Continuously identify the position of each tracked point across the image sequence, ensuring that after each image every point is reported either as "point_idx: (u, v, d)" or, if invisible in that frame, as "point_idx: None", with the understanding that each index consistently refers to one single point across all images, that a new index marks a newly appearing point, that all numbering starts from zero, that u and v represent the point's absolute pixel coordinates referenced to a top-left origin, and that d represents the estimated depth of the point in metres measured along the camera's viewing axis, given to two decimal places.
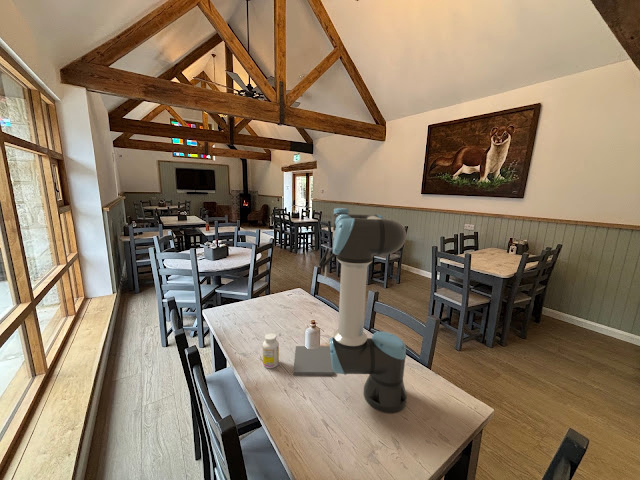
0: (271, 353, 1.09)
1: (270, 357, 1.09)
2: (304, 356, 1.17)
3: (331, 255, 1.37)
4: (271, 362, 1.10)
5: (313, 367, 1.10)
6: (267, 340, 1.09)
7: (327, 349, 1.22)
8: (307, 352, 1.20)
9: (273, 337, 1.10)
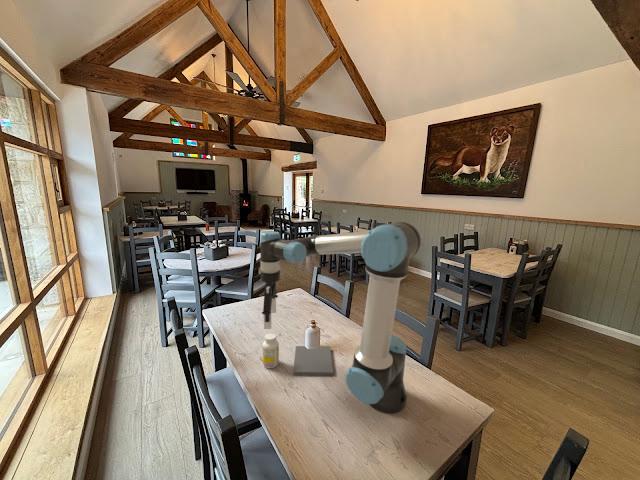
0: (271, 353, 1.09)
1: (270, 357, 1.09)
2: (304, 356, 1.17)
3: None
4: (271, 362, 1.10)
5: (313, 367, 1.10)
6: (267, 340, 1.09)
7: (327, 349, 1.22)
8: (307, 352, 1.20)
9: (273, 337, 1.10)
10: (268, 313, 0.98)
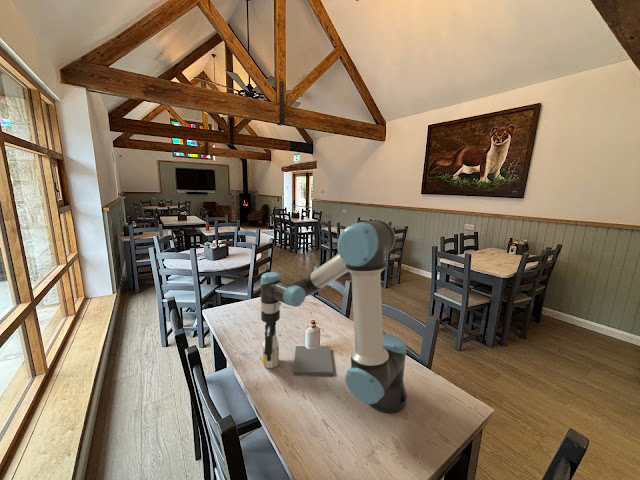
0: None
1: None
2: (304, 356, 1.17)
3: None
4: None
5: (313, 367, 1.10)
6: None
7: (327, 349, 1.22)
8: (307, 352, 1.20)
9: (273, 337, 1.10)
10: (270, 354, 1.05)
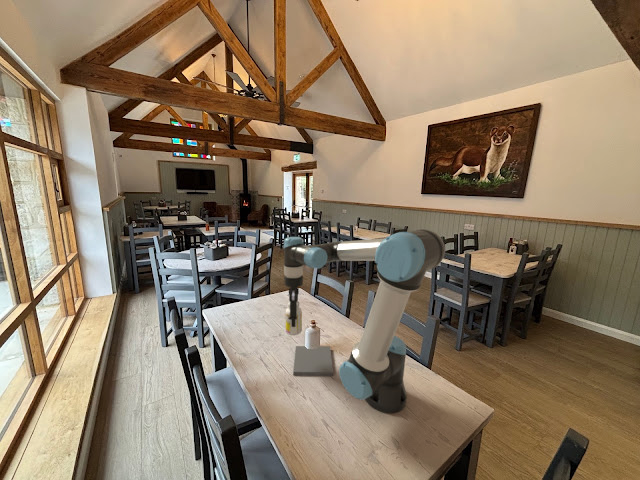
0: None
1: None
2: (304, 356, 1.17)
3: None
4: None
5: (313, 367, 1.10)
6: None
7: (327, 349, 1.22)
8: (307, 352, 1.20)
9: None
10: (295, 318, 1.03)
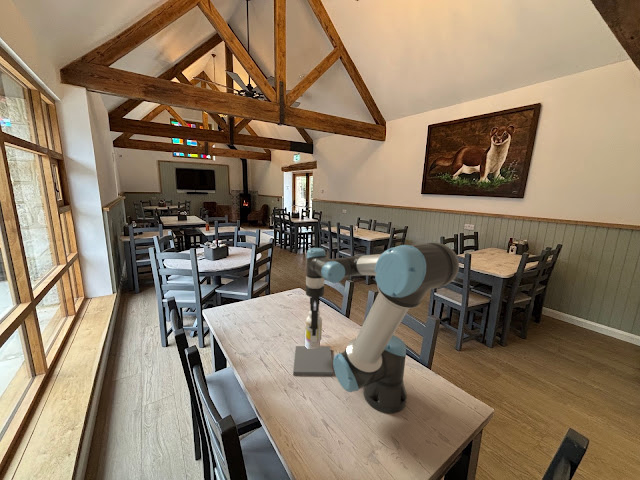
0: None
1: None
2: (304, 356, 1.17)
3: None
4: None
5: (313, 367, 1.10)
6: None
7: (327, 349, 1.22)
8: (307, 352, 1.20)
9: None
10: (316, 328, 1.06)
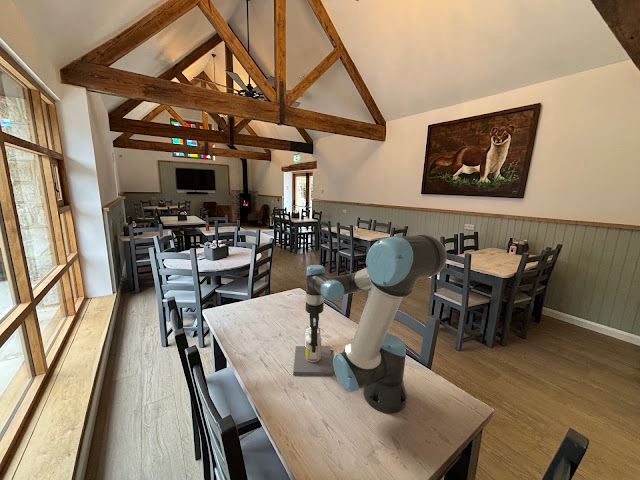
0: None
1: None
2: (304, 356, 1.17)
3: None
4: None
5: (313, 367, 1.10)
6: None
7: (327, 349, 1.22)
8: None
9: (317, 332, 1.12)
10: (316, 345, 1.05)
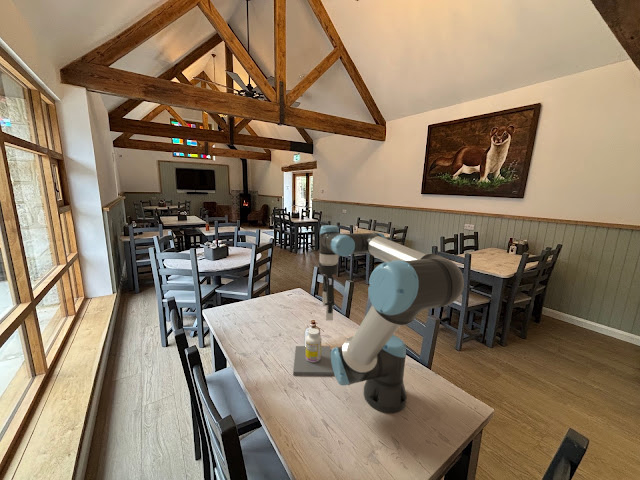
0: (315, 347, 1.11)
1: (314, 352, 1.11)
2: (304, 356, 1.17)
3: None
4: (315, 356, 1.12)
5: (313, 367, 1.10)
6: (311, 335, 1.11)
7: (327, 349, 1.22)
8: None
9: (317, 332, 1.12)
10: (333, 304, 1.01)
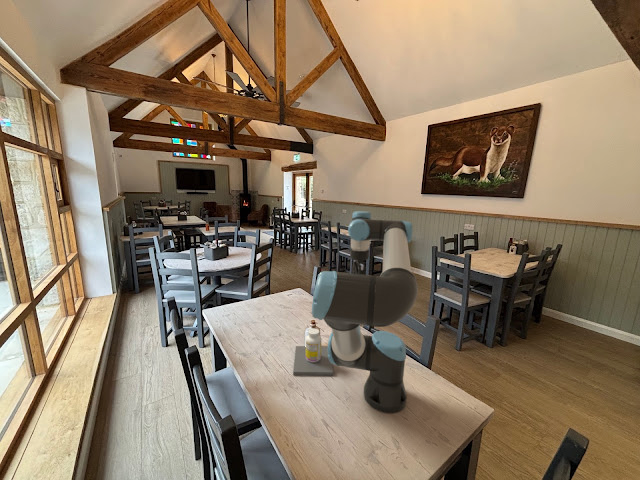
0: (315, 347, 1.11)
1: (314, 352, 1.11)
2: (304, 356, 1.17)
3: None
4: (315, 356, 1.12)
5: (313, 367, 1.10)
6: (311, 335, 1.11)
7: (327, 349, 1.22)
8: None
9: (317, 332, 1.12)
10: None
